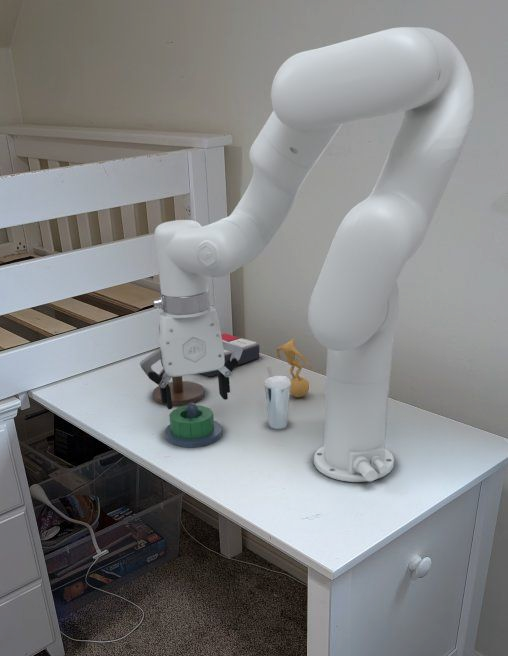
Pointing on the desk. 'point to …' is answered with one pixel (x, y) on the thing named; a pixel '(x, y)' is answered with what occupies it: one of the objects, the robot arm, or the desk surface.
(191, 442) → the slate peg
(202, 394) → the walnut peg
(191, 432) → the ring
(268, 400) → the milkshake
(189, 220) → the robot arm
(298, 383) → the figurine
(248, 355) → the calculator
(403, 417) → the desk surface
